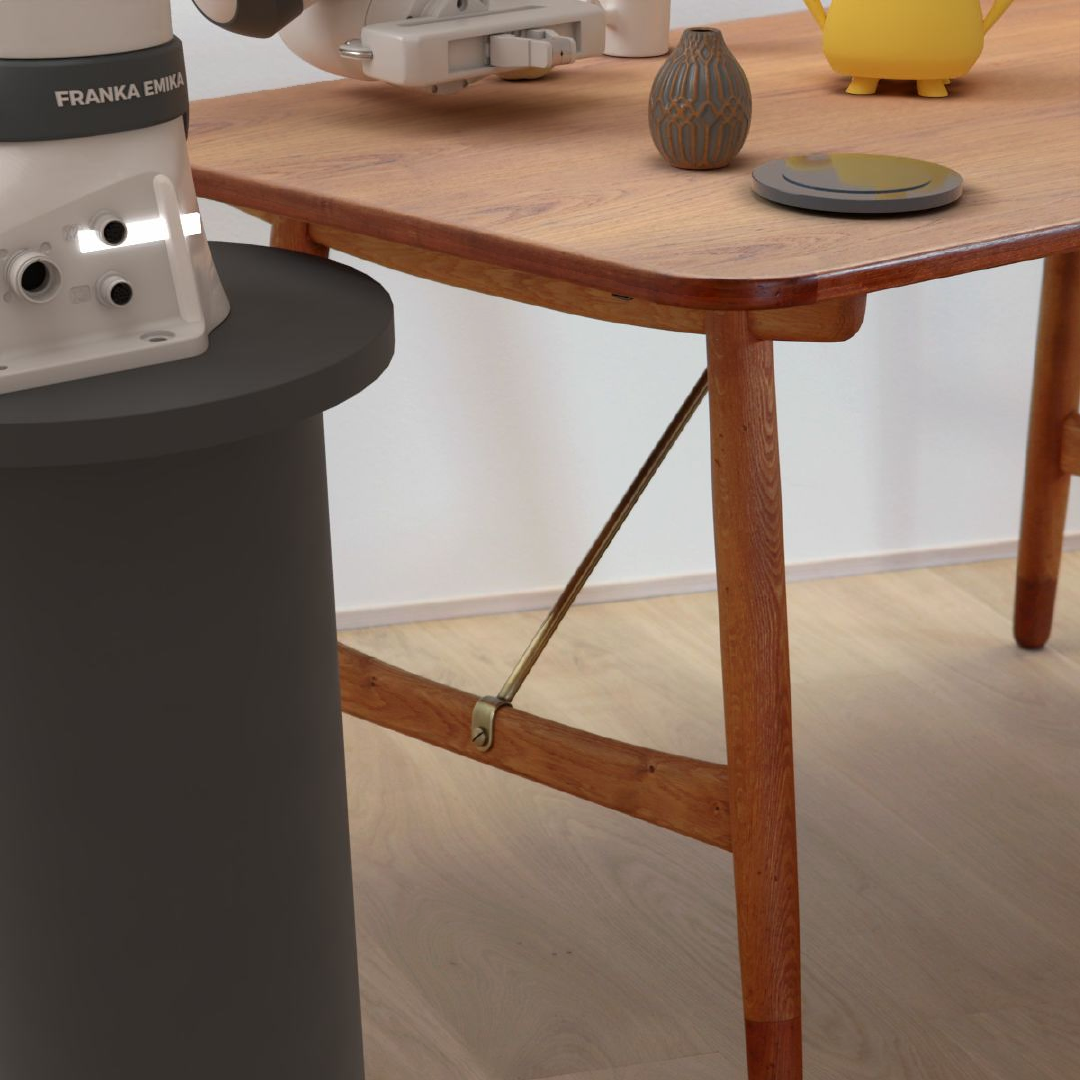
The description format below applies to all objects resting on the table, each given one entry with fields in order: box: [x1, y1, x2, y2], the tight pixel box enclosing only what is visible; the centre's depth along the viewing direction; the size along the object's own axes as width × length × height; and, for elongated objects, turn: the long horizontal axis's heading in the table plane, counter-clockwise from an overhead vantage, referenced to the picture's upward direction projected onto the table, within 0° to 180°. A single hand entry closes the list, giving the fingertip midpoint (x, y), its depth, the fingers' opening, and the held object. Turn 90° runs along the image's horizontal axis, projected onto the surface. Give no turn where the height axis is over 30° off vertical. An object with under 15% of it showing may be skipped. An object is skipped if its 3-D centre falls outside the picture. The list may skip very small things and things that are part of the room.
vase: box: [647, 26, 753, 170], centre depth 115 cm, size 7×7×9 cm
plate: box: [751, 152, 964, 214], centre depth 108 cm, size 13×13×1 cm
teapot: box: [802, 0, 1015, 98], centre depth 141 cm, size 14×14×12 cm
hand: (562, 53), depth 123 cm, fingers closed
